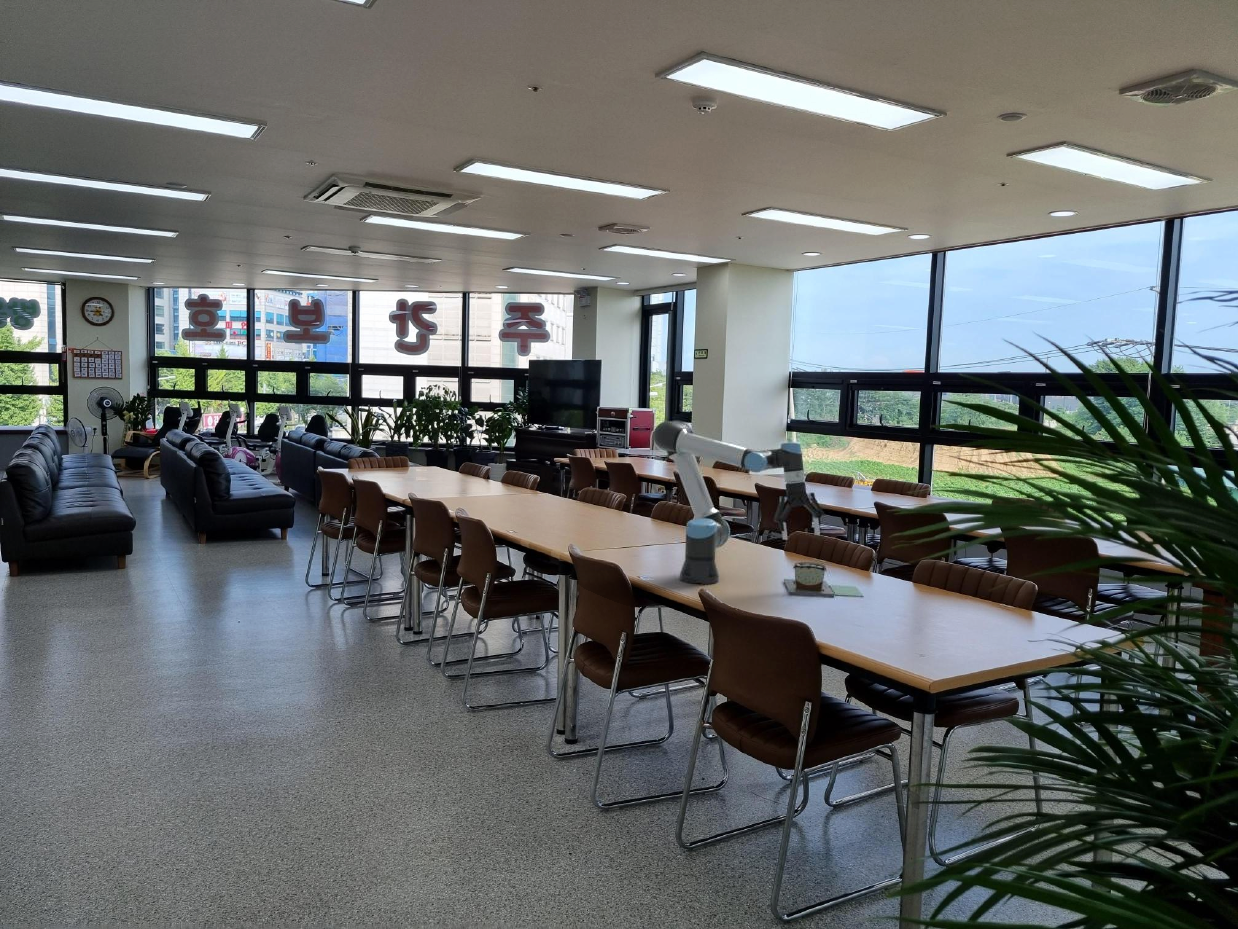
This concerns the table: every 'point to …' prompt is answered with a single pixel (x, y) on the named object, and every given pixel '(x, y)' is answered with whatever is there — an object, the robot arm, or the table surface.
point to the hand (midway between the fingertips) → (801, 537)
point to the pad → (845, 590)
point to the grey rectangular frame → (793, 591)
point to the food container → (809, 576)
